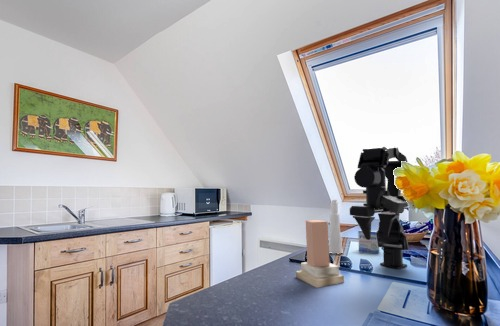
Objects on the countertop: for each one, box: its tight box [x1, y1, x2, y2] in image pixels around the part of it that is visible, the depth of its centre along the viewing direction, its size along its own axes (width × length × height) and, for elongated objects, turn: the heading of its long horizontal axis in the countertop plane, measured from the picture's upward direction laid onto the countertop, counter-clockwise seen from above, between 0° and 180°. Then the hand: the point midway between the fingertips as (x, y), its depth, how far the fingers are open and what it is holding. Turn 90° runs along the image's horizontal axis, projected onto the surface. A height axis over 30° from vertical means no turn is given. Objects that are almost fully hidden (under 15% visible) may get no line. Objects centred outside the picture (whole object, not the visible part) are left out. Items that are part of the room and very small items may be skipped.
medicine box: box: [357, 229, 380, 254], centre depth 122 cm, size 8×4×9 cm, turn 62°
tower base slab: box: [295, 270, 345, 289], centre depth 87 cm, size 10×10×2 cm
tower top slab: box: [300, 261, 340, 278], centre depth 88 cm, size 8×8×2 cm
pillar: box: [305, 219, 331, 267], centre depth 88 cm, size 5×5×13 cm
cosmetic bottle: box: [328, 199, 344, 254], centre depth 120 cm, size 6×6×22 cm
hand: (377, 238), depth 89 cm, fingers open, 9 cm apart
